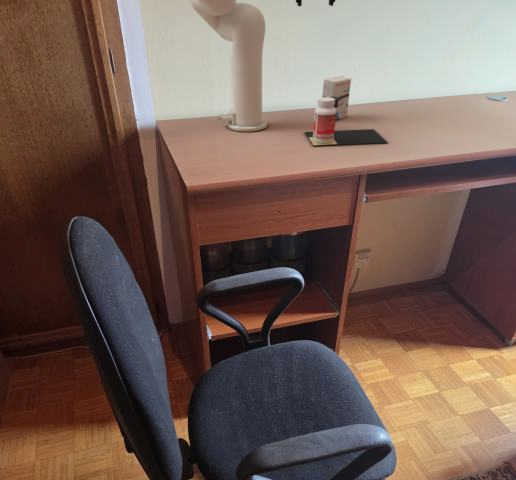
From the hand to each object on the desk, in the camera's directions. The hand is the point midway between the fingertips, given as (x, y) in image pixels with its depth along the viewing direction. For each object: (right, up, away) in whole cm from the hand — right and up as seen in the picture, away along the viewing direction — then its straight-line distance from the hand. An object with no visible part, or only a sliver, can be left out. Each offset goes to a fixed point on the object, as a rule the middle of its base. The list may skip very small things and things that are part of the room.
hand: (315, 5), depth 134 cm
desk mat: (+9, -39, +1) cm, 40 cm away
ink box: (+8, -25, +18) cm, 32 cm away
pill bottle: (+2, -42, -2) cm, 42 cm away
